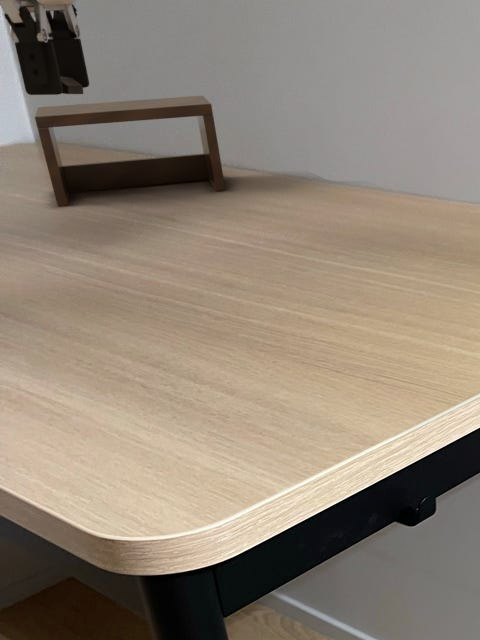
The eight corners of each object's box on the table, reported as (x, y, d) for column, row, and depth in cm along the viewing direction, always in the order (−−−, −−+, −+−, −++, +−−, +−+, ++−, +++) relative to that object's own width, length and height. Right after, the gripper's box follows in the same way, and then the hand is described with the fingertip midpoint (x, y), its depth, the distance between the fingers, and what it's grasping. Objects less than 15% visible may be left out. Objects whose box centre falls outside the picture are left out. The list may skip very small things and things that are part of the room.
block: (35, 100, 90) (29, 77, 89) (46, 94, 95) (41, 72, 94) (76, 98, 90) (71, 76, 89) (86, 93, 95) (81, 71, 94)
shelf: (57, 206, 119) (34, 116, 114) (59, 191, 127) (37, 107, 121) (225, 190, 124) (211, 103, 118) (217, 177, 132) (203, 95, 126)
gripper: (4, -145, 90) (53, 83, 99) (-90, -169, 75) (-21, 100, 85) (86, -146, 89) (127, 82, 99) (9, -170, 75) (66, 99, 85)
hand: (58, 88), depth 92 cm, fingers closed on block, 6 cm apart
